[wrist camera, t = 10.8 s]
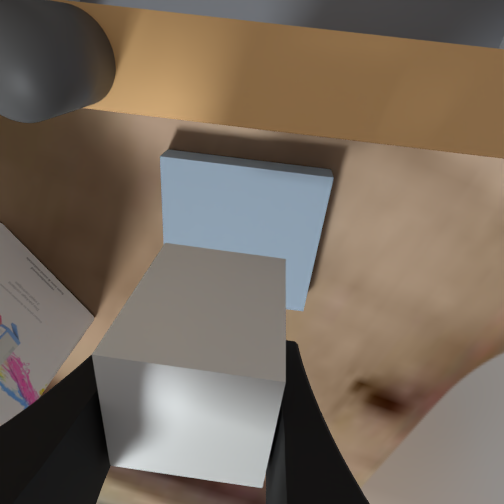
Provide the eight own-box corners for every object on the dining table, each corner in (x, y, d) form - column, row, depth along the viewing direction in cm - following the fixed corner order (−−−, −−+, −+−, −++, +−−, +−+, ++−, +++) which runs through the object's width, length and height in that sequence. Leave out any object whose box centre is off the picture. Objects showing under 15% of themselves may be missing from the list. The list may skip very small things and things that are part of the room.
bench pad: (330, 169, 17) (333, 177, 16) (302, 298, 21) (303, 311, 20) (167, 149, 17) (160, 156, 16) (171, 280, 21) (165, 293, 20)
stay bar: (640, 65, 9) (785, 75, 6) (581, 163, 10) (681, 205, 7) (-55, -13, 9) (-187, -33, 7) (-25, 90, 11) (-125, 106, 8)
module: (285, 259, 11) (285, 382, 7) (269, 348, 13) (262, 487, 9) (165, 242, 11) (91, 354, 7) (167, 333, 13) (110, 465, 9)
